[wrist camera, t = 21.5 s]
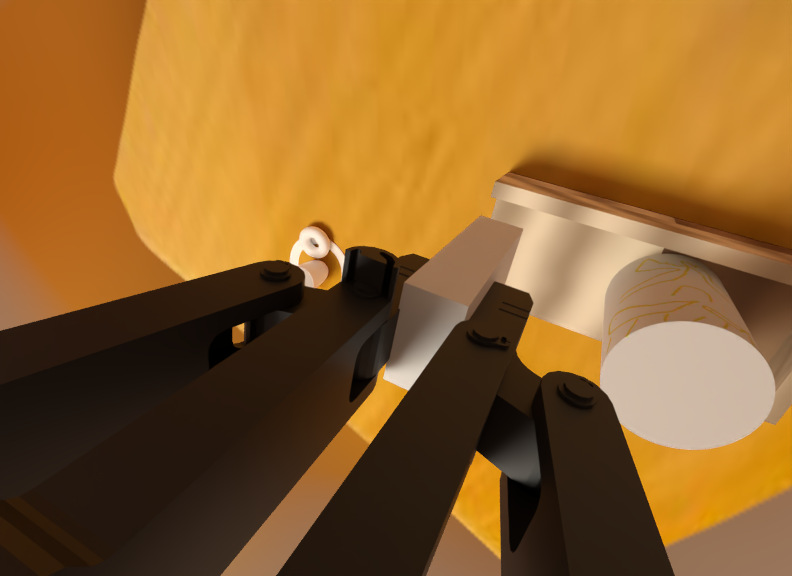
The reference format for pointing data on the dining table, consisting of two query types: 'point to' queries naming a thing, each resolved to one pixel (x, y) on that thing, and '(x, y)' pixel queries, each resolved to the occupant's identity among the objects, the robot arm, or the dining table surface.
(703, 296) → the beige cylinder
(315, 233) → the white looped ring
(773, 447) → the dining table surface
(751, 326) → the rail board
